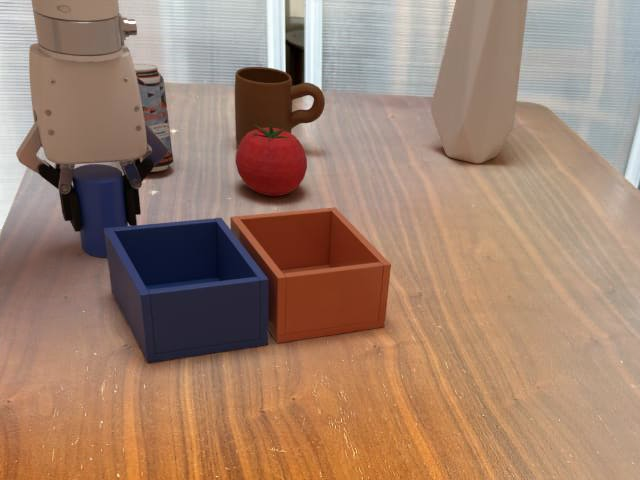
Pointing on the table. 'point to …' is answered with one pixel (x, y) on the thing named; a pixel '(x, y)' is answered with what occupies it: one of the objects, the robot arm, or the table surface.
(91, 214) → the blue cylinder
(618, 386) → the table surface
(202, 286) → the blue bin
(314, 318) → the terracotta bin
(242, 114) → the mug
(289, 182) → the tomato
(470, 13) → the vase
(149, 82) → the beverage can
